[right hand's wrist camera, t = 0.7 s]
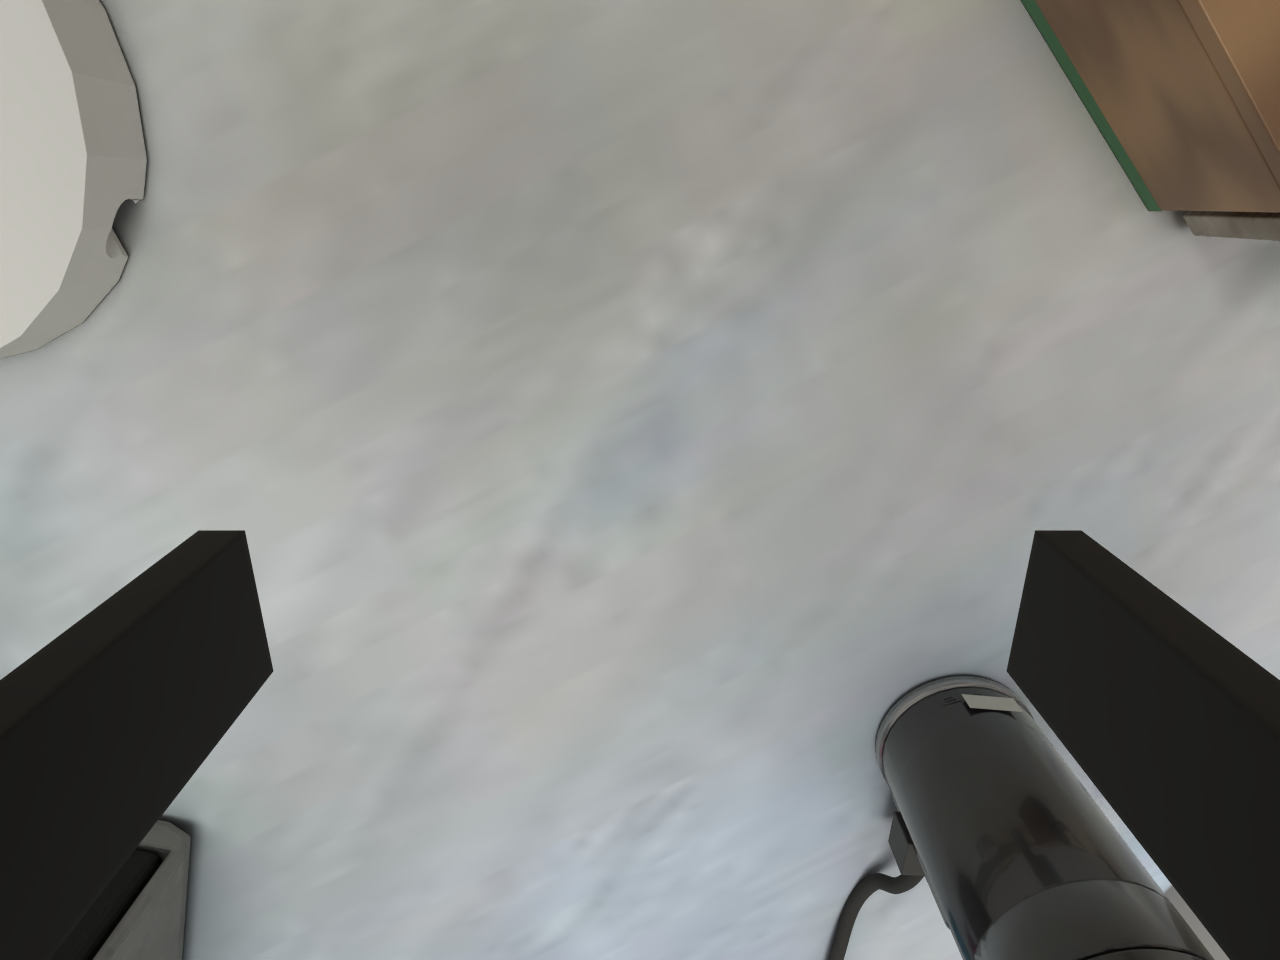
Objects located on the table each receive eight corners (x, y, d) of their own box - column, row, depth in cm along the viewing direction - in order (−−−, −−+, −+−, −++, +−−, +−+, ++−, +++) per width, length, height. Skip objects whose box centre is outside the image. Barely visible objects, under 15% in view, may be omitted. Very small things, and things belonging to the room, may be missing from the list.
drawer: (1415, 193, 34) (1612, 191, 28) (1241, 317, 36) (1383, 345, 29) (1156, -342, 28) (1327, -520, 21) (961, -155, 30) (1058, -262, 23)
